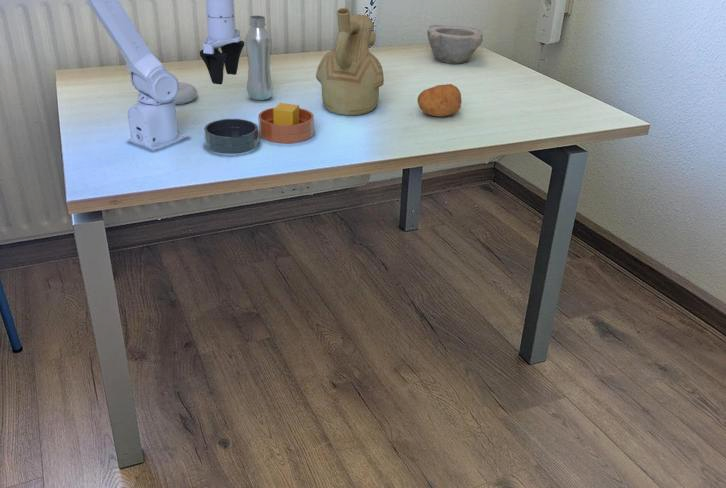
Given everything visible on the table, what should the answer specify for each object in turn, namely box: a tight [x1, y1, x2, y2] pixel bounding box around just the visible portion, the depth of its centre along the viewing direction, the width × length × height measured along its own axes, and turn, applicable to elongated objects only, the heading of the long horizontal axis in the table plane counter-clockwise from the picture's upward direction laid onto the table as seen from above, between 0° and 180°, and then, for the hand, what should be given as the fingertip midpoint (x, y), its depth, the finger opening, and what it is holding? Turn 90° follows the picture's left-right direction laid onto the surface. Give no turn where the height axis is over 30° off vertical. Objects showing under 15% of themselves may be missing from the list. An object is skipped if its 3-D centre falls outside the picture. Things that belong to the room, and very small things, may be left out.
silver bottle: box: [244, 15, 274, 101], centre depth 164 cm, size 6×7×20 cm
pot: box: [203, 118, 259, 155], centre depth 141 cm, size 11×11×4 cm
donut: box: [174, 81, 198, 105], centre depth 165 cm, size 10×4×10 cm
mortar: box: [427, 24, 484, 65], centre depth 206 cm, size 17×17×9 cm
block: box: [273, 102, 300, 125], centre depth 147 cm, size 4×4×6 cm
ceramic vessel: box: [315, 7, 385, 116], centre depth 160 cm, size 17×20×25 cm
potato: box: [416, 83, 462, 118], centre depth 162 cm, size 9×11×8 cm
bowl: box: [257, 107, 315, 144], centre depth 147 cm, size 12×12×4 cm
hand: (224, 78), depth 148 cm, fingers open, 7 cm apart
